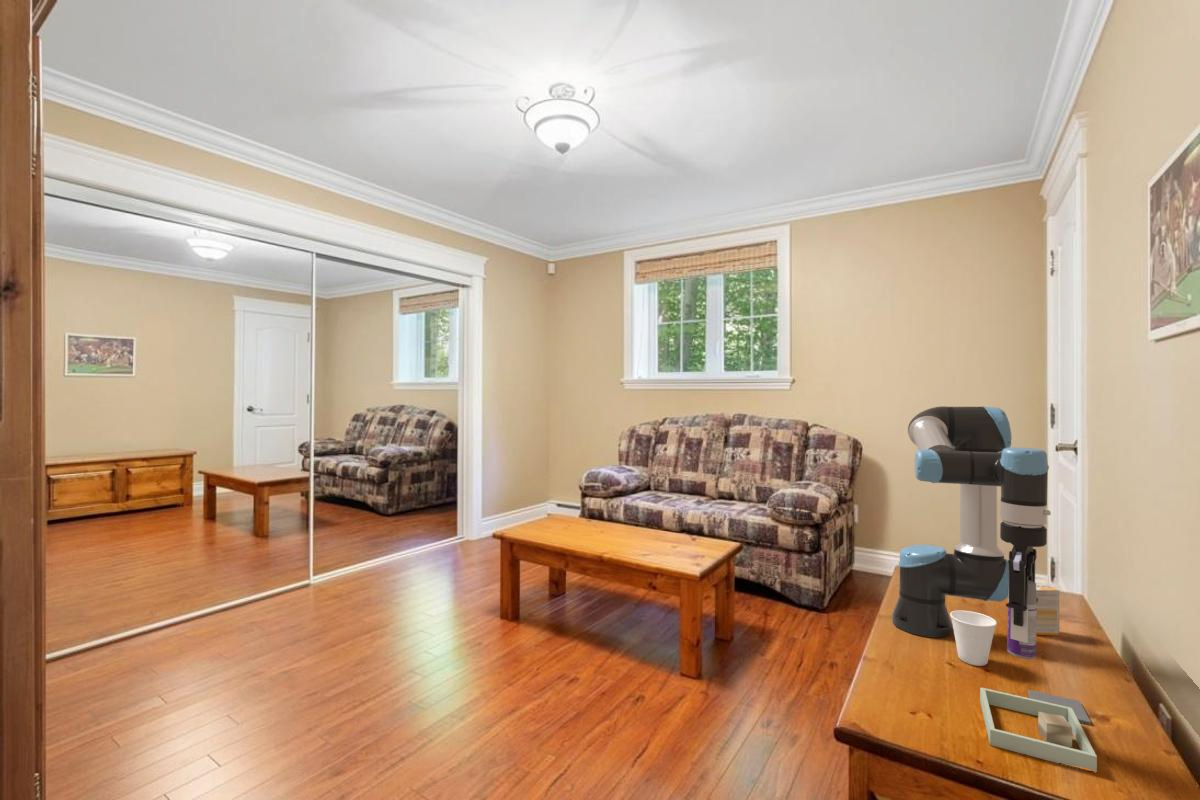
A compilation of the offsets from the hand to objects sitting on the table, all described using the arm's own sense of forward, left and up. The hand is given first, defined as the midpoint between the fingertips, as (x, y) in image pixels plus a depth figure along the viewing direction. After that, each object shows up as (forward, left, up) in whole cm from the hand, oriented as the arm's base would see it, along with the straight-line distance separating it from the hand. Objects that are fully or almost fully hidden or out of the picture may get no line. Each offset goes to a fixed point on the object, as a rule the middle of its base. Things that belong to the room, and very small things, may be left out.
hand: (1021, 635), depth 111 cm
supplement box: (+12, +57, -19) cm, 61 cm away
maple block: (+5, -3, -18) cm, 19 cm away
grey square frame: (+1, -3, -18) cm, 18 cm away
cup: (-6, +27, -19) cm, 34 cm away
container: (0, 0, -4) cm, 4 cm away
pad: (+8, +11, -18) cm, 23 cm away
